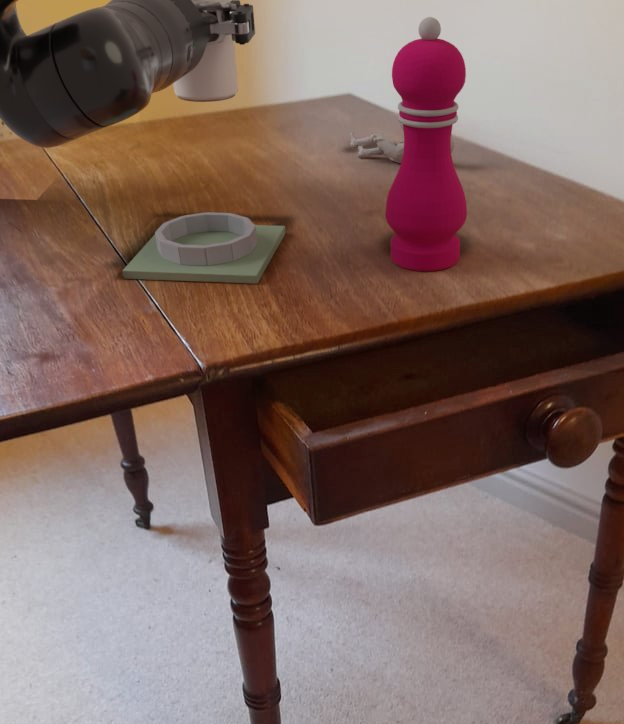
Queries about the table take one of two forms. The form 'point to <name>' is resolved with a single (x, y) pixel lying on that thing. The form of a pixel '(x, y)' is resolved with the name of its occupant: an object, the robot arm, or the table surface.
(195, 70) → the can
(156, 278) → the dock pad
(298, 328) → the table surface
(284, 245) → the table surface
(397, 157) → the soldier figure
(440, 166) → the pepper mill
